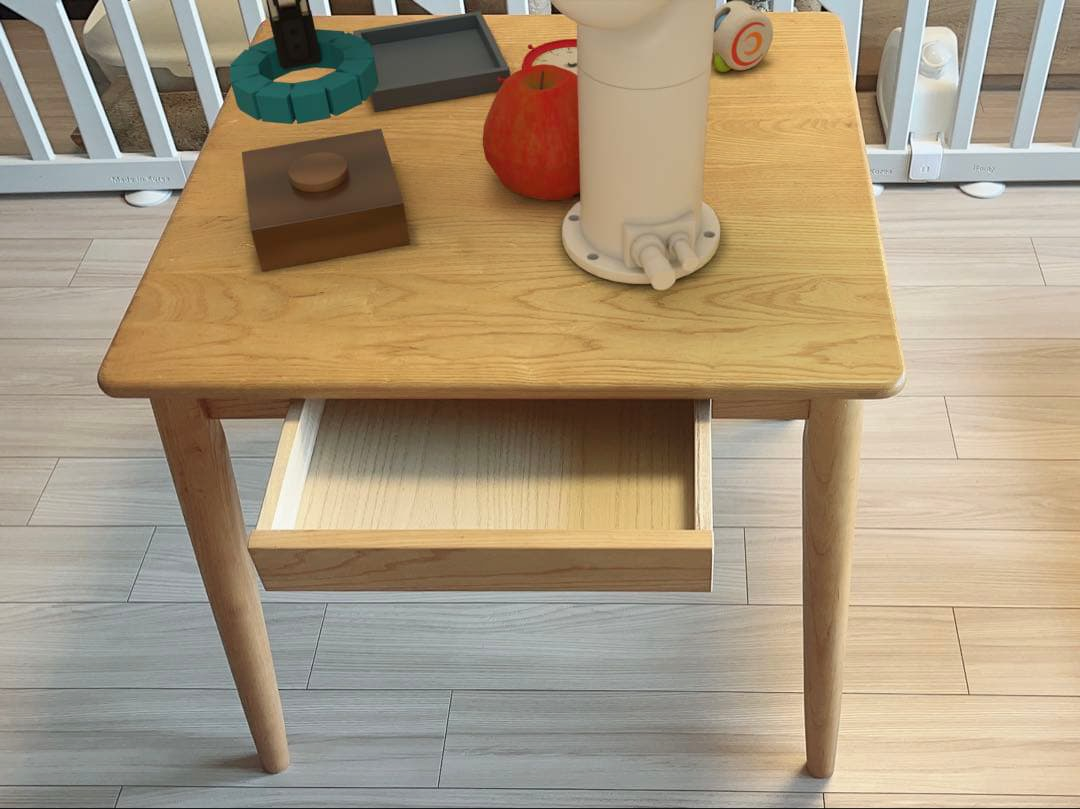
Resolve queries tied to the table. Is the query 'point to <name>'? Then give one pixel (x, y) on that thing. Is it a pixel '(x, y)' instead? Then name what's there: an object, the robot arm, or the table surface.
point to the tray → (434, 60)
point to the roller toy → (740, 36)
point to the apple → (535, 133)
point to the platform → (323, 199)
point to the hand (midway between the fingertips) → (299, 53)
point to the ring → (309, 97)
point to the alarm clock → (552, 55)
